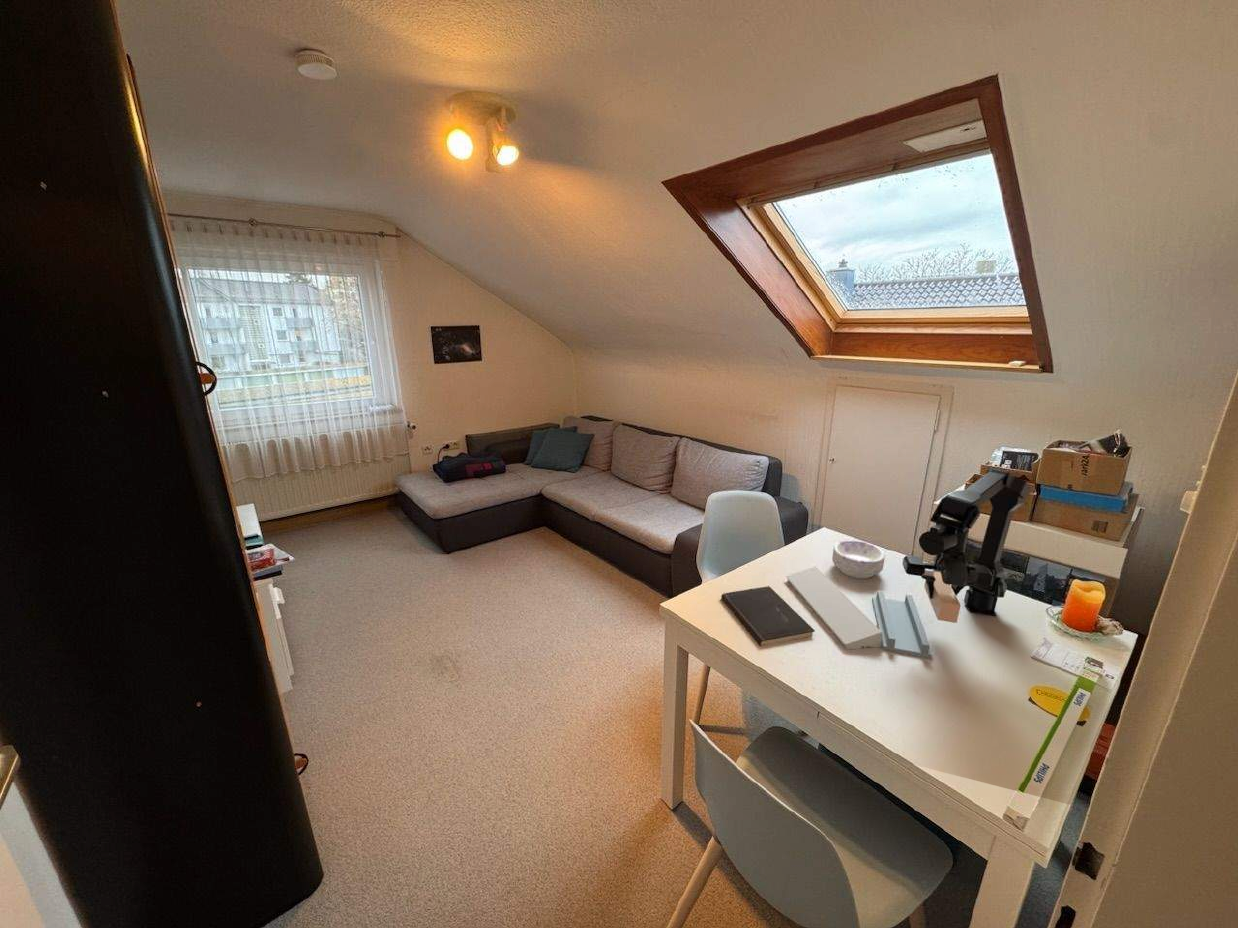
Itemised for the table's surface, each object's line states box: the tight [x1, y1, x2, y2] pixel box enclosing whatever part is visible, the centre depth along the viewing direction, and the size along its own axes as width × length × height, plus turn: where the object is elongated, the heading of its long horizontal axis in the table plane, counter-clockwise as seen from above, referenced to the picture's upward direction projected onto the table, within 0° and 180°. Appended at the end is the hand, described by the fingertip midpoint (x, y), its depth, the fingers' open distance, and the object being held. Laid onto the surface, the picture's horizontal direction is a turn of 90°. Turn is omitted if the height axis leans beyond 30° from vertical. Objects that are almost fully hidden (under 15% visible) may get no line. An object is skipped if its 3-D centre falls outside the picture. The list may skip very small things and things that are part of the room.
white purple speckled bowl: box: [831, 539, 886, 579], centre depth 164 cm, size 15×15×8 cm
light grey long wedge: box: [785, 566, 884, 651], centre depth 144 cm, size 34×5×10 cm
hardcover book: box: [720, 585, 816, 647], centre depth 142 cm, size 16×23×2 cm
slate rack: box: [871, 589, 933, 659], centre depth 136 cm, size 11×24×4 cm, turn 160°
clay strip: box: [924, 572, 961, 624], centre depth 129 cm, size 4×16×5 cm, turn 160°
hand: (940, 599), depth 129 cm, fingers closed on clay strip, 4 cm apart
